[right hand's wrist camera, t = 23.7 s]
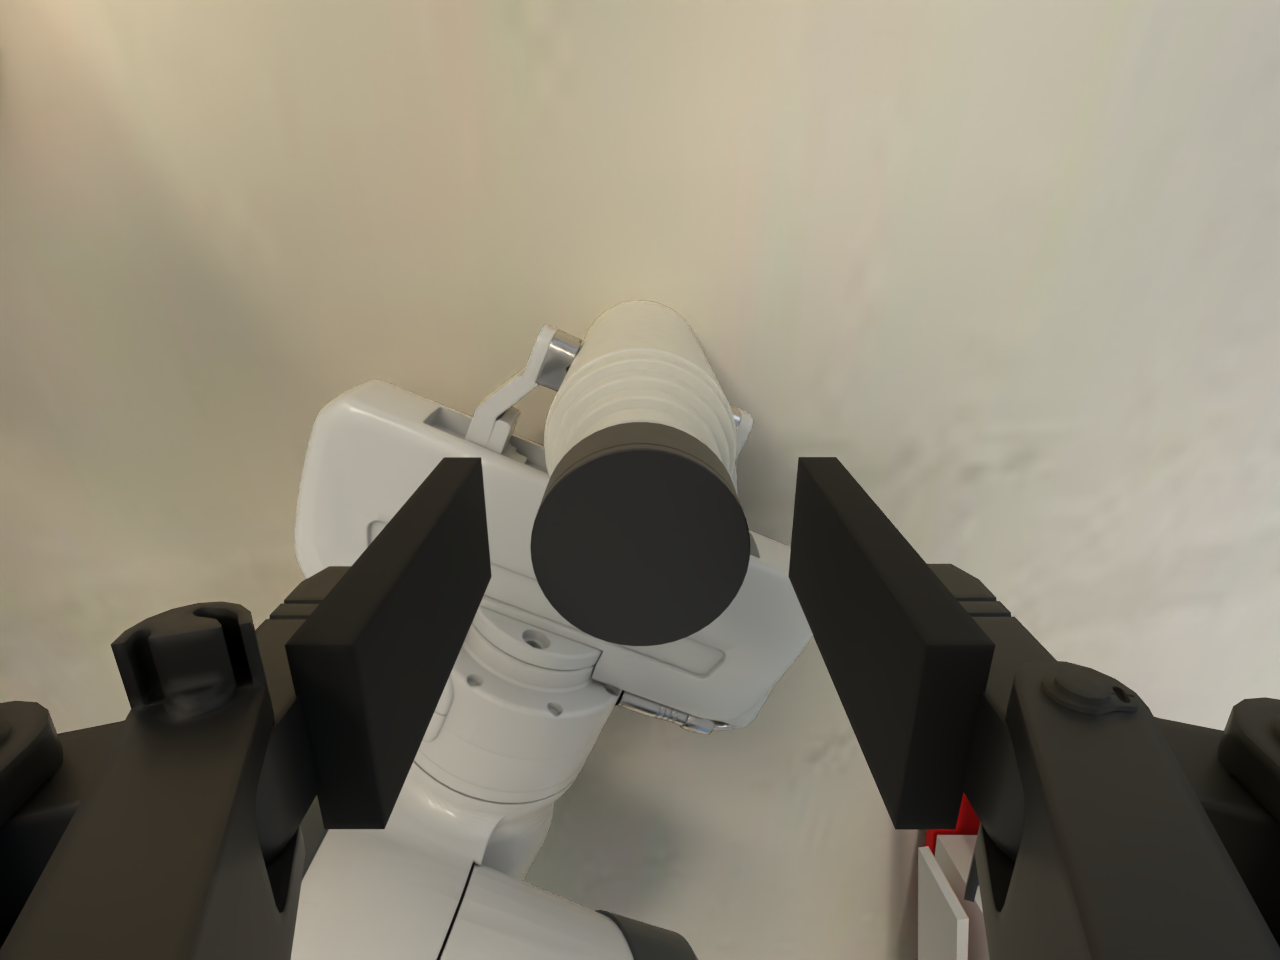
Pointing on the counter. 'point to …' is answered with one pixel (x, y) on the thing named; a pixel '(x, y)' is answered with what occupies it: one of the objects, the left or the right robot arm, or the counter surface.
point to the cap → (640, 536)
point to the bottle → (640, 383)
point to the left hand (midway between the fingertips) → (649, 371)
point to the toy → (950, 893)
